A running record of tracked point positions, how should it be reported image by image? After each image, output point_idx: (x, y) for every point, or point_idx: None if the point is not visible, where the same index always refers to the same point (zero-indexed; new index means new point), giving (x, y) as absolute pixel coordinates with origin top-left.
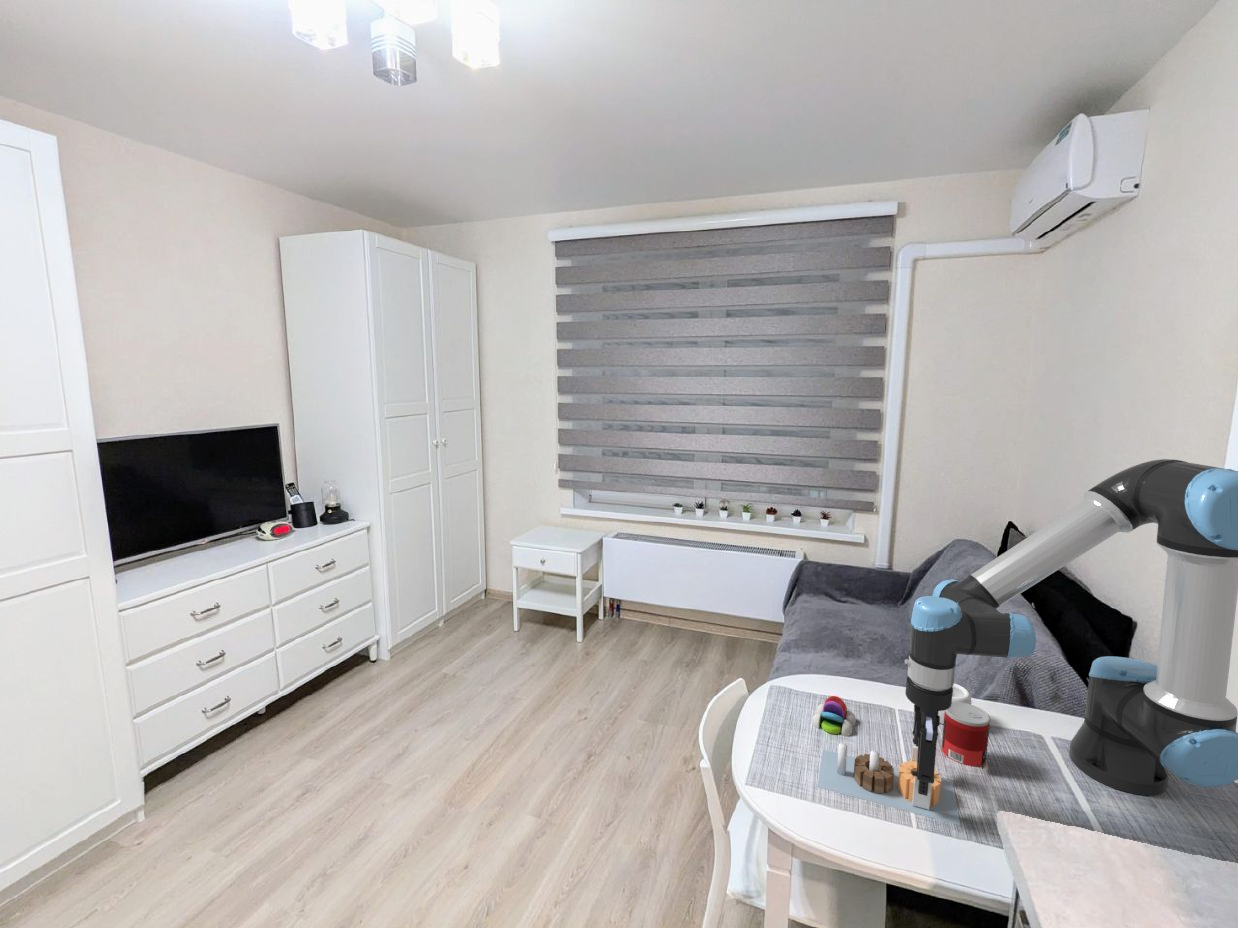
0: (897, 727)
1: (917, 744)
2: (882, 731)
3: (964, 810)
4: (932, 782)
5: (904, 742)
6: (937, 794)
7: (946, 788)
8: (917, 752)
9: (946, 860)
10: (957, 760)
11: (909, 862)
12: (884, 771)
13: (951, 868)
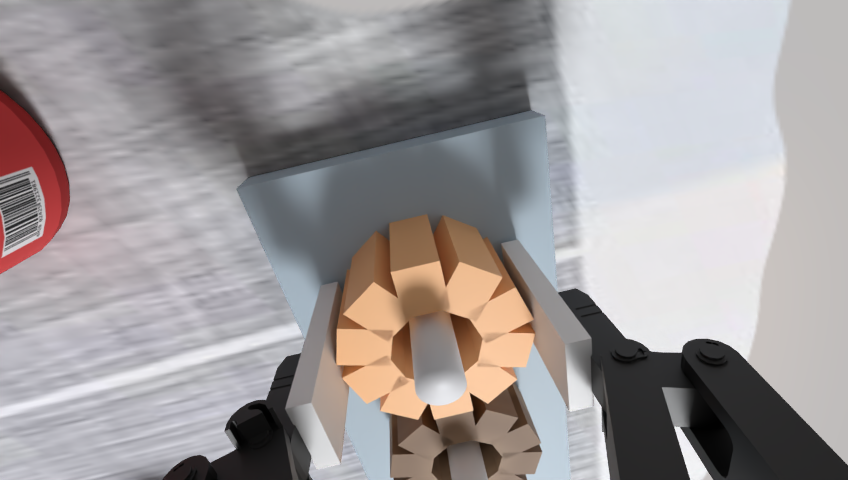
0: (9, 416)
1: (307, 465)
2: (97, 442)
3: (373, 109)
4: (728, 349)
5: (92, 376)
6: (465, 240)
7: (318, 202)
8: (337, 423)
9: (700, 134)
10: (38, 194)
11: (744, 232)
12: (477, 433)
13: (734, 113)
